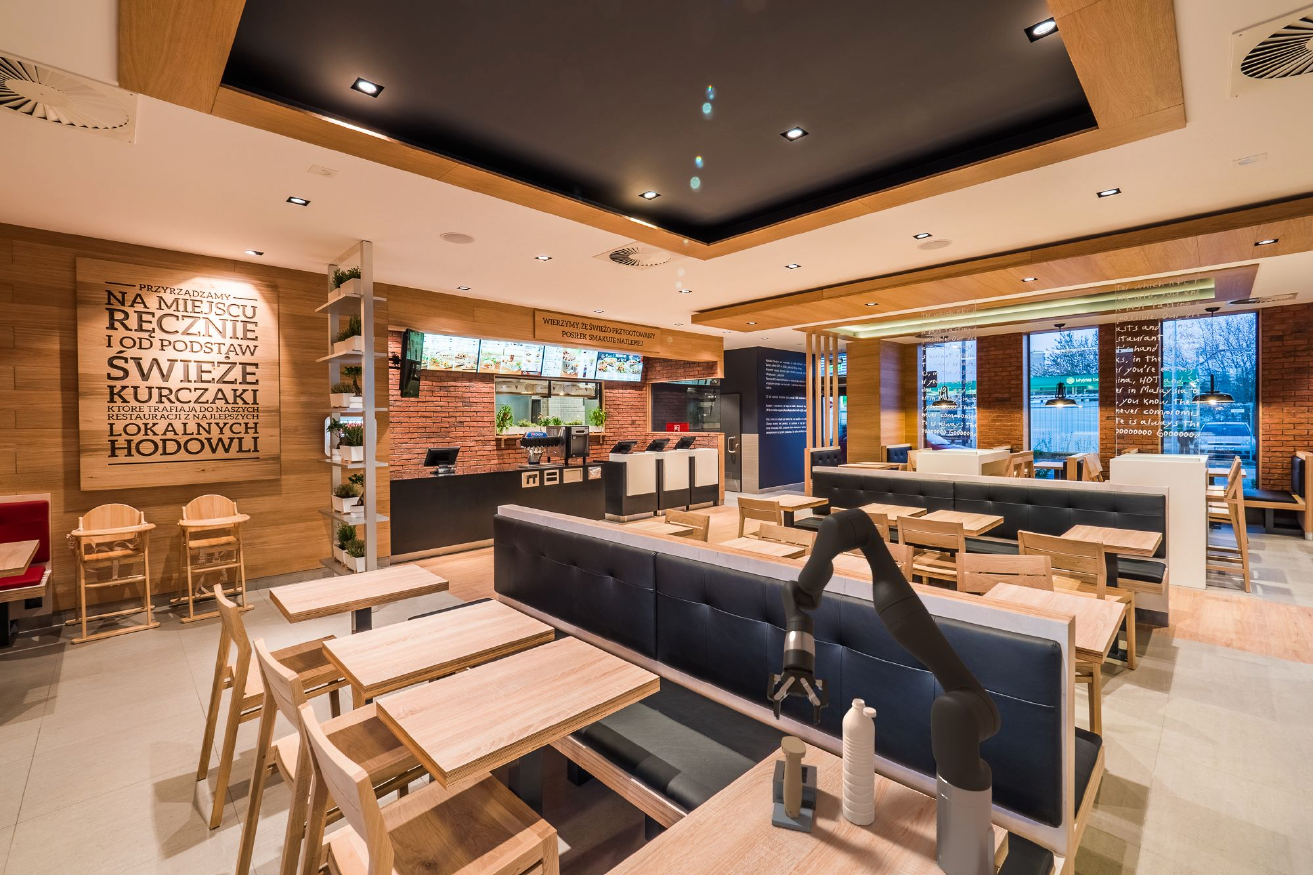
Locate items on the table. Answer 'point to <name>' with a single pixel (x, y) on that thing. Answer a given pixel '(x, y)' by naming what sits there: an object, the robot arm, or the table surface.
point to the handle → (793, 774)
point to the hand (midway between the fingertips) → (796, 721)
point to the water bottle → (858, 764)
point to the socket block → (807, 784)
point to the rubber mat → (793, 823)
